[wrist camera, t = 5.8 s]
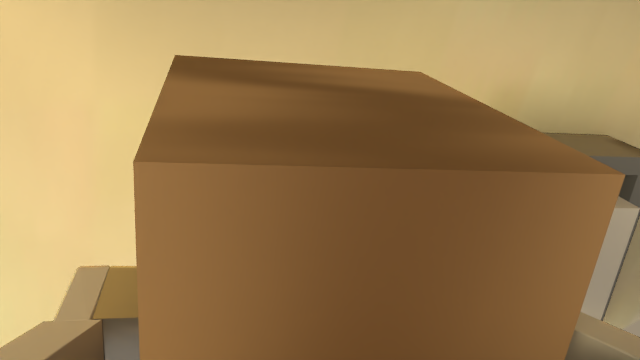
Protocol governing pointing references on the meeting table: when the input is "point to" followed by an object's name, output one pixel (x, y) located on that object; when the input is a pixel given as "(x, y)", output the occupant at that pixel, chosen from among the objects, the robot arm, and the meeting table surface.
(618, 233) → the off-white block
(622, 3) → the meeting table surface
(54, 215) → the meeting table surface
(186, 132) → the walnut block
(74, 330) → the robot arm
